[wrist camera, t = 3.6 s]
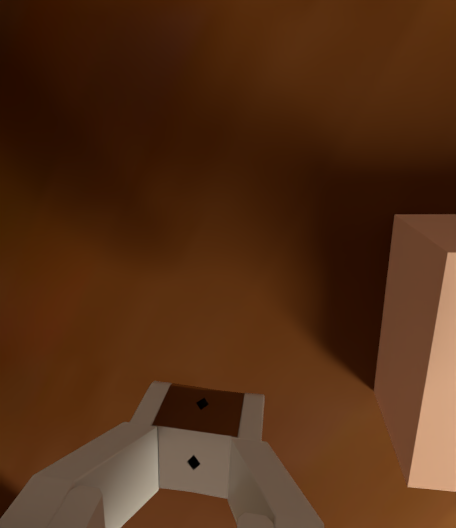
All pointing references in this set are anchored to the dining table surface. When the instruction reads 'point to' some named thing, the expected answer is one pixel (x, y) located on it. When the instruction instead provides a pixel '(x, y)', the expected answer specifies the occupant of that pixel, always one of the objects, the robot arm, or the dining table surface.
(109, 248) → the dining table surface
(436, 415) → the peach block
